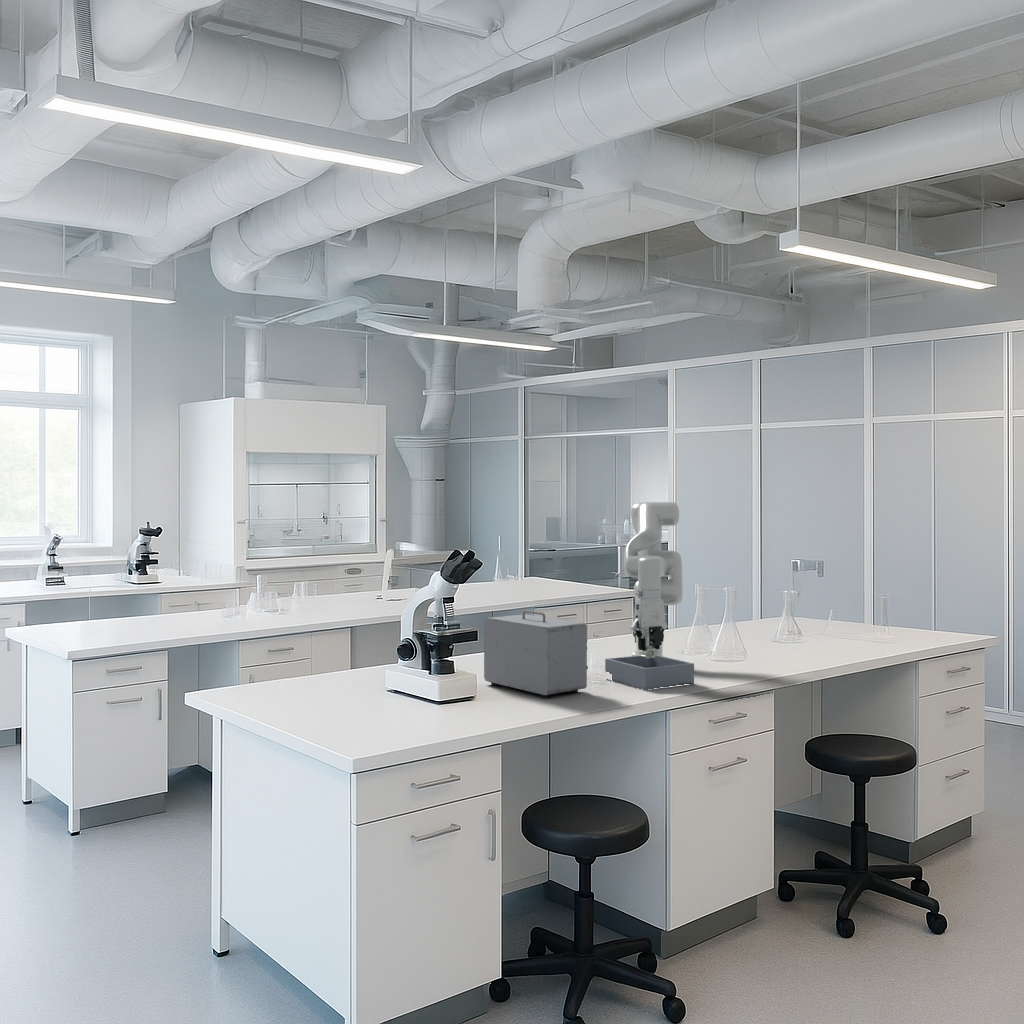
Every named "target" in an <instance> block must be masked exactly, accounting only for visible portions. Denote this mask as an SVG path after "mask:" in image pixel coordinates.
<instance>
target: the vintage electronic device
mask: <svg viewBox="0 0 1024 1024" xmlns="http://www.w3.org/2000/svg"><path fill="white" fill-rule="evenodd" d="M531 614H532V615H531ZM537 615H538V616H537ZM539 615H542V616H539ZM483 631H484V632H483V679H484V681H486V682H489V683H491V687H498V686H499V685H501V686H504V687H509V688H512V689H513V688H514V689H518V690H522V691H527V692H529V693H534V694H538V695H541V698H542V699H549V698H550V697H551V695H555V694H561V693H566V692H569V693H570V694H575V695H576V694H578V692H579V690H583V689H586V688H587V686H588V684H587V683H588V674H587V673H588V671H587V670H588V669H589V667H588V662H587V661H588V660H587V659H588V654H587V652H588V646H587V645H588V626H587V624H586V623H585V622H580V621H572V620H566V619H561V618H552V617H551V618H550V617H546V614H545V613H544V612H541V611H534V610H527V609H525V610H523V611H522V614H516V615H515V614H514V615H513V614H512V615H505V616H504V615H503V616H502V615H501V616H495V617H486V618H484V621H483Z"/></svg>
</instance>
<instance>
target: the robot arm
mask: <svg viewBox="0 0 1024 1024" xmlns="http://www.w3.org/2000/svg"><path fill="white" fill-rule="evenodd" d="M679 509H680V508H679V505H678V503H676V502H673V501H667V502H666V501H651V502H650V501H643V502H637V503H635V504H633V505H632V506H631V509H630V518H631V523H632V526H633V529H634V532H635V534H636V535H634V536H633V537H632V538H631V539H630V540H629V542H628V543H627V544H626V546H625V548H624V553H623V555H624V556H623V571H624V574H625V576H627V577H629V578H632V579H634V578H637V581H636V582H635V583H634V586H633V595H634V596H633V597H634V602H635V606H634V614H633V617H634V618H633V622H632V624H631V626H630V627H629V630H631V632H632V633H633V632H634V633H635V635H636V636H637V638H638V643H635V644H636V645H635V652H632V653H631V656H639V655H642V654H641V650H643V651H645V650H646V645H645V638H644V637H645V630H647V626H662V632H663V633H664V632H665V630H666V629H667V628H668V623H667V622H666V609H665V606H678V605H679V604H681V603H682V600H683V595H684V594H683V592H684V591H683V590H684V589H683V562H682V556H681V555H680V553H679V552H678V551H676V550H662V537H663V528H662V527H664V526H666V527H667V526H669V527H671V526H672V527H674V526H675V527H676V526H677V525H678V523H679V522H680V521H679V520H680V510H679ZM635 554H637V555H635ZM662 577H668V578H662ZM637 628H638V630H637ZM641 630H642V633H641ZM650 647H653V648H655V653H656V654H655V655H659V656H663V644H662V645H656V646H650Z"/></svg>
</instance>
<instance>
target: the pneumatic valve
mask: <svg viewBox="0 0 1024 1024" xmlns="http://www.w3.org/2000/svg"><path fill="white" fill-rule="evenodd" d="M637 630H638V628H637ZM641 633H642V630H641ZM632 636H633V638H634V643H635V644H636V643H638V638H637V636H636V635H635V633H634V632H633V631H632ZM644 638H645V645H646V650H645V651H643V650H641V654H642V655H641V657H642V658H646V659H649V658H655V654H656V653H655V648H653V647H650V646H656V645H662V646H663V642H664V638H665V634H664V632H662V626H647V630H645V637H644Z"/></svg>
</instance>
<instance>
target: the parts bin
mask: <svg viewBox="0 0 1024 1024" xmlns="http://www.w3.org/2000/svg"><path fill="white" fill-rule="evenodd" d="M604 661H605V662H604V663H605V664H604V666H605V667H604V672H605V671H606V672H609V673H610V674H612V681H613V682H612V681H611V682H612V683H617V684H620V685H623V686H626V687H631V688H633V687H634V689H637V688H639V689H638V690H641V689H643V690H642V691H644V690H647V691H649V690H648V689H654V688H660V687H669V686H676V685H684V684H694V685H695V663H694V662H689V661H684V660H680V659H675V658H672V657H667V656H663V655H662V656H659V655H655V658H649V659H646V658H642V657H641V655H639V656H632V655H631V656H621V657H609V658H604Z"/></svg>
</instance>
